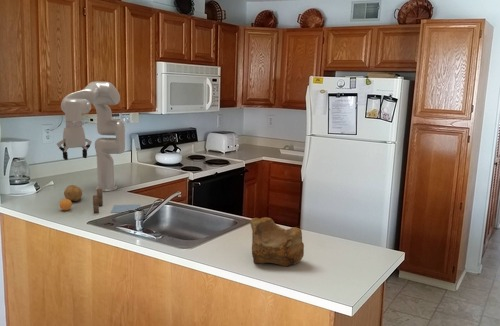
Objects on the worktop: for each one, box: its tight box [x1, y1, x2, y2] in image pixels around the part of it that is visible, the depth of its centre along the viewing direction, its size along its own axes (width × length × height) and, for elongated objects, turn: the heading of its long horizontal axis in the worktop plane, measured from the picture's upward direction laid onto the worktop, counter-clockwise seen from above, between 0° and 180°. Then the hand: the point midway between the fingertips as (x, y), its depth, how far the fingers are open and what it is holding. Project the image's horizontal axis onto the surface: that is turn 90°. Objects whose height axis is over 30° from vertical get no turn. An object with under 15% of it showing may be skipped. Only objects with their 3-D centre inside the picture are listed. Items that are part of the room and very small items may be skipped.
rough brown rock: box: [249, 216, 305, 267], centre depth 178 cm, size 23×17×15 cm
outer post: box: [92, 194, 100, 215], centre depth 236 cm, size 3×3×9 cm
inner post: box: [96, 189, 104, 208], centre depth 248 cm, size 3×3×9 cm
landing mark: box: [110, 203, 141, 214], centre depth 245 cm, size 14×14×1 cm
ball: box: [59, 198, 73, 211], centre depth 240 cm, size 6×6×6 cm
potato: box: [63, 184, 83, 202], centre depth 258 cm, size 10×14×8 cm
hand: (75, 158), depth 235 cm, fingers open, 9 cm apart
